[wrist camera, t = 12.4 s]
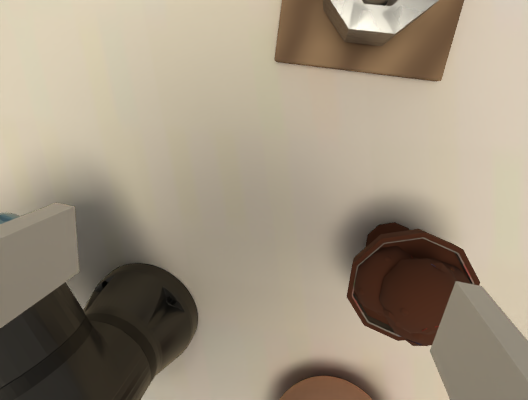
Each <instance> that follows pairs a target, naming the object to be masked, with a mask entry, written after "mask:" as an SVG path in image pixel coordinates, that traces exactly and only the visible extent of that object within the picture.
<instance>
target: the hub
mask: <svg viewBox="0 0 528 400" xmlns="http://www.w3.org/2000/svg"><path fill="white" fill-rule="evenodd" d="M438 1H439V0H398V1H397V2H396V3H395V4H393V5H392V6H383V5H373V4H364V3H363V1H362V0H323V11H324V12H325V13H326V15H327V16H328V18H329V19H330V21H331V22H332V24H333V26H334V27H335V29H336V30H337V32H338V33H339V35H340V36H341V38H342V39H343V41H344V42H349V43H358V44H367V45H376V46H383V45H384V44H385V43H386V42H387V41H389V40H390V39H391V38H393V37H394V36H395V35H397V34H398V33H399V32H400V31H402V30H403V29H404V28H406V27H407V26H408V25H410V24H411V23H412V22H413V21H415V20H417V19H418V18H419V17H420V16H421V15H422V14H424V13H425V12H426V11H427V10H428V9H429V8H431V7H432V6H433V5H434V4H435V3H437V2H438Z"/></svg>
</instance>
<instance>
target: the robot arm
mask: <svg viewBox="0 0 528 400" xmlns="http://www.w3.org/2000/svg"><path fill="white" fill-rule="evenodd" d="M77 273H79V261H78V246H77V231H76V216H75V206H71V205H66V204H61V203H54V204H51V205H48V206H46V207H43V208H41V209H38V210H36V211H33V212H31V213H28V214H25V215H23V216H18V215H16V214H12V213H0V400H141V398H142V396H143V395H144V393H145V391H146V390H147V388H148V386H149V385H150V383H151V381H152V380H153V378H154V377H155V375H157V374H158V373H159V372H160V371H162V370H163V369H164V368H165V367H166V366H168V365H169V364H170V363H171V362H172V361H173V360H175V359H176V358H177V357H178V356H180V355H181V354H182V353H183V352H184V350H185V349H186V348H187V346H188V345H189V343H190V341H191V339H192V338H193V336H194V334H195V331H196V328H197V322H198V316H197V310H196V306H195V303H194V301H193V299H192V297H191V295H190V293H189V292H188V290H187V289H186V288H185V287H184V285H183V284H182V283H181V282H180V281H179V280H178V279H176V278H175V277H174V276H172V275H171V274H169V273H168V272H166V271H164V270H162V269H160V268H158V267H155V266H152V265H147V264H128V265H124V266H121V267H119V268H117V269H115V270H114V271H112V272H111V273H110V274H109V275H108V276H106V277H105V278H104V279H103V280H102V281H101V282H100V283H99V284H98V285H97V287H96V288H95V290H94V292H93V294H92V295H91V297H90V299H89V301H88V303H87V305H86V306H85V308H84V310H83V309H82V308H81V306H80V304H79V303H78V301H77V300H76V298H75V296H74V295H73V293H72V292H71V290H70V289H69V287H68V285H67V284H66V281H68V280H69V279H70V278H72V277H73V276H75V275H76V274H77ZM430 352H431V355H432V357H433V360H434V362H435V364H436V367H437V369H438V372H439V374H440V376H441V379H442V381H443V384H444V386H445V388H446V391H447V393H448V396H449V398H450V400H528V341H527V339H526V338H525V337H524V336H523V335H522V333H521V332H520V331H519V330H518V329H517V327H516V326H515V325H514V324H513V323H512V322H511V320H510V319H509V318H508V317H507V316H506V314H505V313H504V312H503V311H502V310H501V308H500V307H499V306H498V305H497V304H496V302H495V301H494V300H493V299H492V298H491V296H490V295H489V294H488V293H487V292H486V290H485V289H484V288H483V287H482V286H479V285H473V284H468V283H463V282H458V281H456V282H455V284H454V287H453V290H452V292H451V295H450V298H449V301H448V303H447V306H446V309H445V311H444V314H443V317H442V320H441V322H440V325H439V328H438V330H437V333H436V336H435V338H434V341H433V344H432V347H431V349H430Z"/></svg>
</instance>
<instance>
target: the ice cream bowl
mask: <svg viewBox="0 0 528 400" xmlns="http://www.w3.org/2000/svg"><path fill="white" fill-rule="evenodd" d="M456 281H458V282H463V283H468V284H473V285H479V284H480V281H479V279H478V277H477V275H476V273H475V272H474V270H473V268H472V266H471V264H470V262H469V260H468V258H467V256H466V254H465V252H464V250H463V249H461V248H459V247H458V246H456V245H454V244H452V243H450V242H447V241H445V240H443V239H441V238H438V237H436V236H434V235H431V234H429V233H427V232H425V231H422V230H420V229H414V230H409V228H406V227H404V226H402V225H399V224H397V223H395V222H394V223H388V224H381V225H378V226H377V227H376V228H375V229H374V230H373V231H371V232H370V233H369V234H368V237H367V242H366V247H365V249H363V250H362V251H361V252H360V253H359V254H358V255H357V256H355V257H354V260H353V264H352V270H351V275H350V281H349V287H348V293H347V298H348V300H349V301H350V303H351V304H352V306H353V308H354V309H355V311H356V313H357V314H358V316H359V318H360V319H361V321H362V323H363V324H364V325H365V326H367V327H369V328H371V329H373V330H376V331H378V332H380V333H382V334H384V335H387V336H389V337H391V338H393V339H395V340H398V341H400V340H406V341H407V342H409V343H410V344H411V345H412V346H428V345H432V344H433V341H434V338H435V336H436V333H437V330H438V328H439V325H440V322H441V320H442V317H443V314H444V311H445V309H446V306H447V303H448V301H449V298H450V295H451V292H452V290H453V287H454V284H455V282H456Z"/></svg>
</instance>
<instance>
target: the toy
mask: <svg viewBox="0 0 528 400" xmlns="http://www.w3.org/2000/svg"><path fill="white" fill-rule="evenodd" d="M279 400H372V399H371V398H370V396H369V395H368V394H367V393H365V392H364V391H363V390H361V389H360V388H359V387H357V386H356V385H354V384H352V383H350V382H348V381H346V380H343V379H340V378H337V377H332V376H316V377H311V378H308V379H305V380H302V381H300V382H299V383H297V384H295V385H293V386H292V387H291V388H290V389H289V390H287V391H286V392H285V393H284V394H283V396H282V397H281V398H280V399H279Z"/></svg>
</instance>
